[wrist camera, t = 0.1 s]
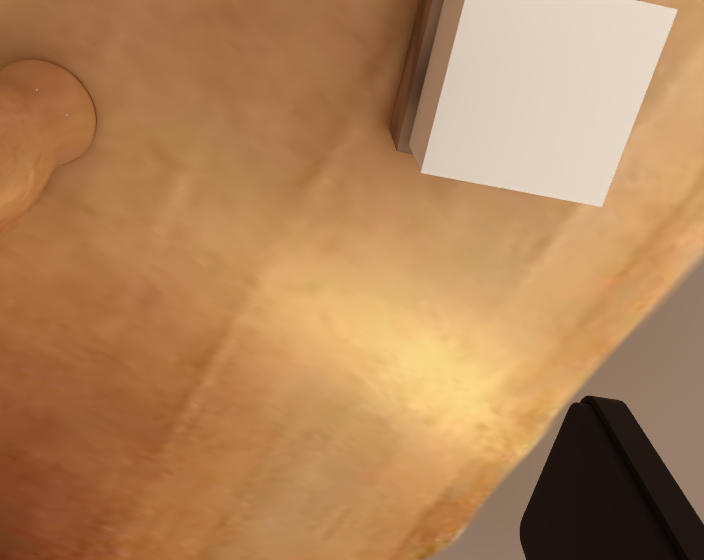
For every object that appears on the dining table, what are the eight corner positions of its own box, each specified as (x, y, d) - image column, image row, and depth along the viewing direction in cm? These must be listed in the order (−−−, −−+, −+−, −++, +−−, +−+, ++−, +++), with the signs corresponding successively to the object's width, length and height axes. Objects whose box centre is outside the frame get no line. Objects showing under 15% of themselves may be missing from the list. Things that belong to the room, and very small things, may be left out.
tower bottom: (430, -54, 36) (445, -54, 32) (605, -14, 37) (642, -8, 33) (389, 128, 40) (396, 150, 36) (546, 159, 42) (572, 185, 37)
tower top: (453, -40, 32) (474, -37, 27) (630, 1, 33) (677, 9, 28) (408, 144, 36) (420, 172, 31) (568, 175, 37) (601, 207, 32)
